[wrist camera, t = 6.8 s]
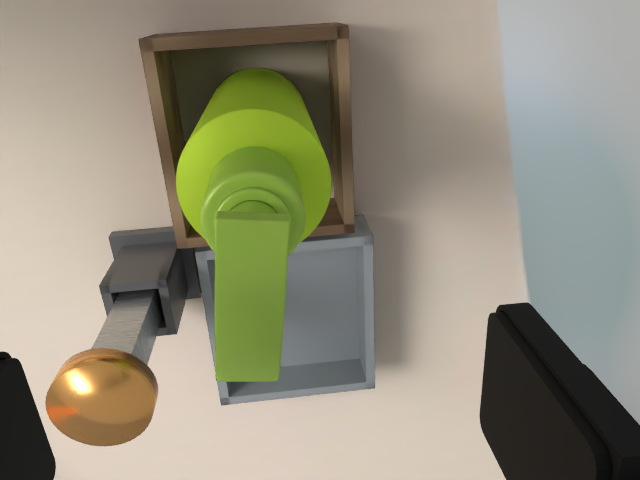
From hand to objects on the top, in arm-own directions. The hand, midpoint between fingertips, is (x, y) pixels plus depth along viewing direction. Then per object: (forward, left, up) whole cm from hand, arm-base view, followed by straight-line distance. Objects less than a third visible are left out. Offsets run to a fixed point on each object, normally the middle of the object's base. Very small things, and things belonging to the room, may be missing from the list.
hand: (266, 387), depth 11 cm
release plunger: (+8, -8, -23) cm, 25 cm away
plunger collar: (+8, -8, -24) cm, 26 cm away
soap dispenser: (0, 0, -24) cm, 24 cm away
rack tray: (+12, +1, -24) cm, 27 cm away
